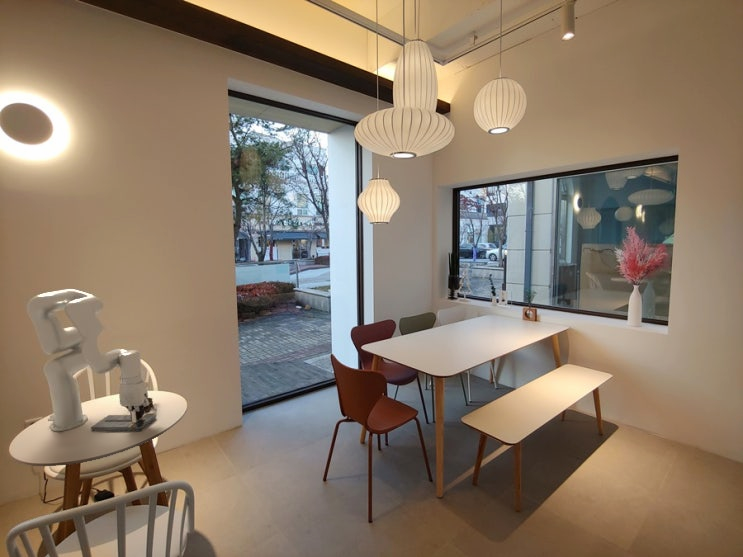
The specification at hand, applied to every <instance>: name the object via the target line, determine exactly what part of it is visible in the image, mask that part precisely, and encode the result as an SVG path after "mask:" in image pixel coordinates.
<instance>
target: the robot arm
mask: <svg viewBox="0 0 743 557" xmlns="http://www.w3.org/2000/svg"><path fill="white" fill-rule="evenodd" d="M103 310H104V302H103V300H101V299H100V298H99V297H97V296H95V295H93V294H90V293H88V292H84V291H80V290H77V289H73V288H68V289H67V288H66V289H61V290H55V291H50V292H45V293H41V294H37V295H35V296H34V297H32V298H31V299H29V301H28V303H27V304H26V311H27V315H28V317H29V318H30V320H31V322H32V324H33V326H34V328H35V333H36V335H37V338H38V341H39V344H40V347H41V350H42V352H43V353H44V354H46V355H48V356H49V355H50V356H51V355H56V354H59V353H62V352H65V351H67V353H63V354H61V355H58V356H54V357H53V358H51V359H49V360H47V361H46V363H45V364H44V366H43V369H42V370H43V373H44V375H45V378H46V380H47V383H48V387H49V392H50V398H51V404H52V405H51V406H52V411H53V412H52V413H53V414H50V416H49V417H48V419H47V421H48V422H52V425H50V430H52V432H65V431H68V430H72V429H76V428H77V427H80V426H82V425H83V424H85V423H86V422H87V421H88V415H87V414H83V407H82V399H81V394H80V393H81V392H80V386H79V382H78V380H77V379H76V378H74V376H73V374H75V373H77V372H79V371H81V370H84V369H86V368H87V367H88V366H89V367H90V369H91V370H92V372H94V373H96V374H100V375H101V374H102V375H103V374H106V373H108V372H110V371H113V370H114V369H116V368H119V370H120V376H119V379H118V380H120V381H121V382H120V383H119V405H120V406H121V407H124V408H126V409H127V410H128V412H129V413H130V414H129V415H131V411H133V410H134V409H135V406H136V410H137V411H136V420H139V419H141V418H142V417H143V413H142V409H143V408H144V407H145V406H148V405H149V401H148V398H149V392H148V387H146V383H145V380H144V378H143V369H142V362H141V360H142V359H141V354H140V353H141V352H140V351H139V350H136V349H131V350H129V349H128V350H127V349H122V348H116V349H112V350H110V351H108V352H105V353H104V354H102V353H101V352H100V350H99V348H98V343H97V342H98V339H99V336H100V335H101V334H102V333H103V332H104V331H105V328H106V327H105V325H104V323H103V322H102V321H101V319H100V318H99V316H98V314H100V313H101V312H103ZM58 311H63V312H64V313H65V315H66V316H67V318H68V319H69V321H70V322H71V323H72V325H73V326H70V327H63V323H62V321H61V319H60V318H59V317H58V316H57V315H56V314H54V312H58ZM131 420H132V416H131Z"/></svg>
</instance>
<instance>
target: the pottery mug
mask: <svg viewBox="0 0 743 557" xmlns="http://www.w3.org/2000/svg"><path fill="white" fill-rule="evenodd" d="M148 401H149V405H148V406H145V407H144V408H143V409H142V413H143V415H145V413H146V414H149V413H150V412H151V411H152V409H153V407H154V404H153V403H154V401H153V398H152V397H148ZM135 408H136V406H135Z"/></svg>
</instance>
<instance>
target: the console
mask: <svg viewBox="0 0 743 557" xmlns="http://www.w3.org/2000/svg"><path fill="white" fill-rule="evenodd" d="M156 419H157V415H156V414H144V415H143V417H142V418H141V419H140V420H138V421H137V422H132V420H131V415H130V414H108V415H106V417H104V418H102V419H101V420H99V421H97V423H95V424H94V425H91V427H90V431H91V432H143V431H144V429H146V428H147V427H149V425H151V424H152V423H153V422H154V421H156Z"/></svg>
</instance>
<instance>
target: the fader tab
mask: <svg viewBox="0 0 743 557" xmlns="http://www.w3.org/2000/svg"><path fill="white" fill-rule="evenodd" d="M136 411H137V410H136V408H135V409H134V410H133V411H131V416H132V422H137V421H138V420H136ZM139 420H140V419H139Z"/></svg>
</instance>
